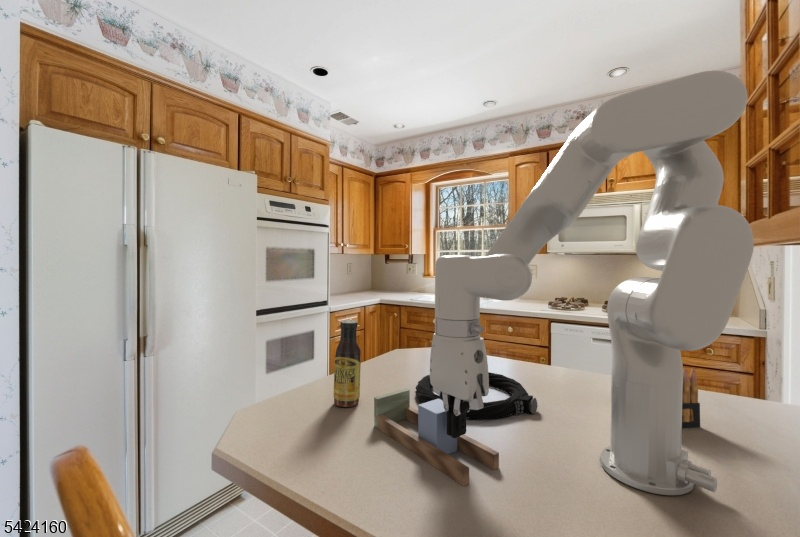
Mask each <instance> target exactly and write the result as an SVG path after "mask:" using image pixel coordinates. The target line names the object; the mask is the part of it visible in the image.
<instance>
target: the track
mask: <svg viewBox="0 0 800 537" xmlns="http://www.w3.org/2000/svg"><path fill="white" fill-rule="evenodd" d="M410 395H411V394H410V389H408V388H403V389H400V390H397V391H391V392H389V393H385V394H382V395H379V396H375V397H374V398H373V400H374V401H373V403H374V404H373V406H374V407H373V408H374V409H373V410H374V412H373V415H374V418H373V419H374V420H373V423H374V427H376V429H379V431H381V432H382V433H384V434H385V435H387V436H388V437H390V438H392V439H393V440H395V442H397V443H399V444H401V445H402V446H404V447H405V448H407V449H408V450H409V451H411V452H412V453H414V454H415V455H417V456H418V457H420V458H421V459H423V460H424V461H425V462H427V463H428V464H430V465H431V466H433V467H434V468H436V469H437V470H438V471H440V472H442V473H444V475H446V476H447V477H449V478H451V479H453V481H455V482H456V483H458V484H460V485H461V486H462V487H465V486H467V485H469V484H470V467H469V466H467V465H466V464H464V463H463V462H461V461H459V460H457V459H456V458H455V457H453V456H451V455H450V454H449V455H448V454H446V453H445V452H443V451H441V450H440V449H438V448H436V447H435V446H433V445H431V444H430V443H428V442H427V441H425V440H423V439H422V438H420V437H418V434H417V435H416V434H415V433H413V432H412V431H410V430H409V429H407V428H405V427H404V426H402V425H401V424H398V423H397V422H400V421H402V420H406V421H409V422H410V423H412V424H413V425H415V426H417V427H418V409H417V408H414V407H413V406H412V407H411V406H410V405H411V403H410ZM457 450H459V451H460V452H463V453H464V454H466V455H468V456H469V457H471V458H472V459H475V460H476V461H478V462H479V463H481V464H483V465H485V466H487V467H488V468H490V469H492V470H497V469H498V468H500V452H498V451H497V450H495V449H493V448H491V447H489V446H487V445H485V444H483V443H481V442H479V441H478V440H476V439H473V438H472V437H469V436H468V435H466V434H464V435H461V436H459V437H457Z"/></svg>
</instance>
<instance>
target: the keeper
mask: <svg viewBox="0 0 800 537" xmlns="http://www.w3.org/2000/svg"><path fill="white" fill-rule="evenodd" d="M417 410H418V426H417V428H418V429H417V432H418V433H417V436H418V437H420V438H422V439H423V440H425V441H427V442H428V443H430V444H431V445H433V446H435V447H436V448H438V449H440V450H441V451H443V452H445V453H446V454H448V455H449V456H450V454H453V453H455V452H457V451H458V449H457V438H453V437H451V436H449V435H447V411H445V409H444V406H443V401H442V400H441V399H435V400H432V401H429V402H426V403H422V402H421V403H420V404H419V403H418V407H417Z"/></svg>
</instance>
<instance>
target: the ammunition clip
mask: <svg viewBox="0 0 800 537" xmlns="http://www.w3.org/2000/svg"><path fill="white" fill-rule="evenodd" d="M697 377H698V376H697V372H696V369H695V368H692V369H691V371H690V373H689V372H688V369H687V368H683V391H682V429H695V428H697V429H700V428H701V405H700V404H701V403H700V402H699V388H698V379H697Z"/></svg>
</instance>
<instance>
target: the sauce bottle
mask: <svg viewBox="0 0 800 537" xmlns="http://www.w3.org/2000/svg"><path fill="white" fill-rule="evenodd" d="M339 327H340V338H339V343H338V345H337V347H336V350H335V355H334V368H333V370H334V372H333V375H334V376H333V402H334V405H335V406H337V407H341V408H352V407H355V406H356V405H357V404H358V403H359V401H360V395H361V364H362V363H361V362H362V360H361V354H362V351H361V350H362V349H361V347H360V346H359V344H358V341H357V329H358V321H356V320H352V319H348V320H347V319H346V320H341V321H340V324H339Z"/></svg>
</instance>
